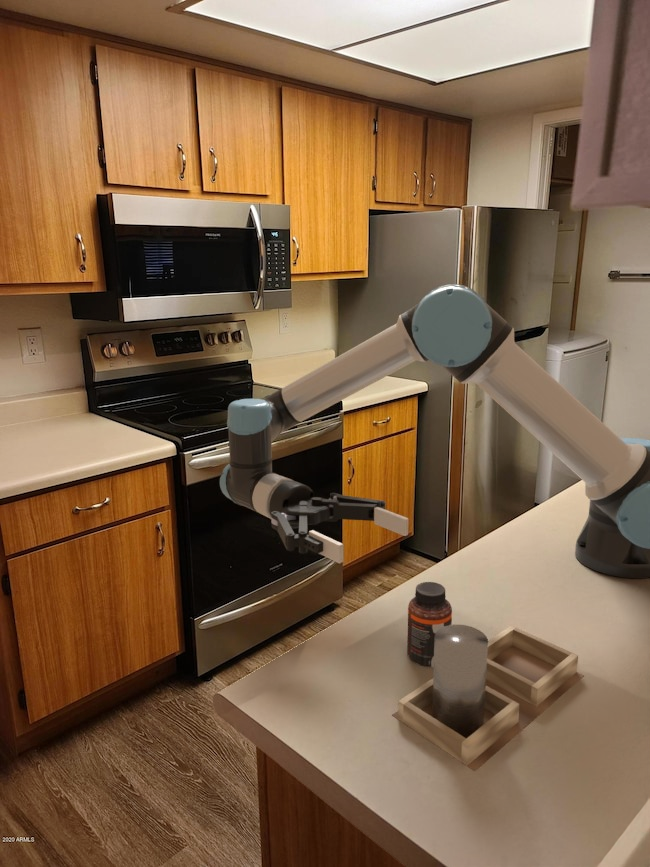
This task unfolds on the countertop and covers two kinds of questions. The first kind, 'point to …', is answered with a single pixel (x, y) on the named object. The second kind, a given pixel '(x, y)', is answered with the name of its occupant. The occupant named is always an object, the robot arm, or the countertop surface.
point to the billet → (460, 678)
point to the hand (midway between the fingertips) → (375, 540)
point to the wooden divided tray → (499, 696)
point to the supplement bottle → (426, 621)
